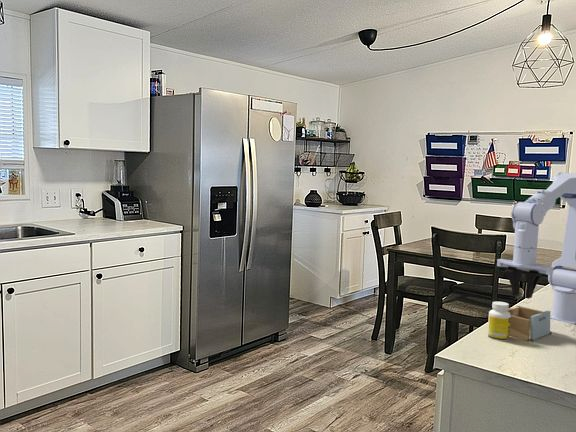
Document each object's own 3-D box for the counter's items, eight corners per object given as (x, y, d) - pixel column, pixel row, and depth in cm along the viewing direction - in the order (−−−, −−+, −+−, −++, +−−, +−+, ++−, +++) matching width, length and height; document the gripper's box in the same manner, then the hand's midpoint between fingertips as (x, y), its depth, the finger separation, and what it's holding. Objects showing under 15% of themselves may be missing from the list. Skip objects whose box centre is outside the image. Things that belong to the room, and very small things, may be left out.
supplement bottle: (511, 343, 135) (513, 306, 134) (489, 342, 136) (491, 305, 136) (506, 337, 141) (509, 301, 140) (485, 335, 142) (487, 299, 141)
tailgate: (546, 332, 143) (547, 310, 142) (550, 333, 142) (551, 311, 142) (530, 339, 137) (530, 316, 136) (534, 339, 136) (534, 317, 136)
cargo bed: (516, 326, 151) (517, 305, 150) (552, 335, 143) (553, 313, 142) (494, 334, 143) (495, 312, 142) (530, 344, 135) (532, 321, 135)
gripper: (492, 244, 144) (489, 293, 146) (545, 252, 133) (542, 304, 135) (505, 242, 149) (502, 289, 150) (558, 249, 138) (554, 300, 139)
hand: (522, 296), depth 143 cm, fingers open, 3 cm apart
